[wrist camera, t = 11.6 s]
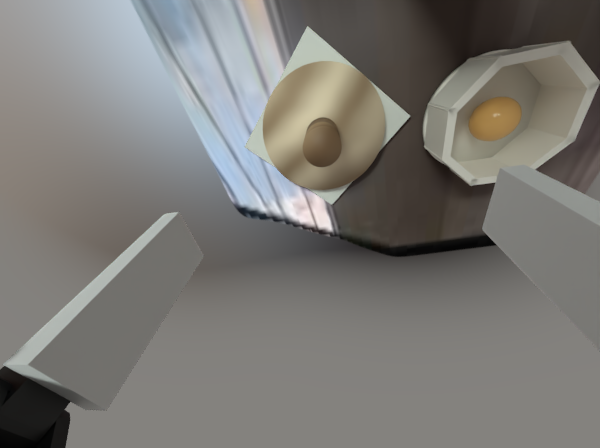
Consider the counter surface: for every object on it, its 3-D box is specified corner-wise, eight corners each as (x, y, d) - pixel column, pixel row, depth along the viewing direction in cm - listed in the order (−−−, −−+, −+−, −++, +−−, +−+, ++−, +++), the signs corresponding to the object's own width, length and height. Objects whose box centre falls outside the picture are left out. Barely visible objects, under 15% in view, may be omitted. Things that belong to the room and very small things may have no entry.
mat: (245, 146, 32) (244, 147, 31) (307, 26, 24) (307, 26, 24) (332, 203, 35) (332, 204, 35) (409, 115, 28) (410, 116, 27)
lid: (244, 147, 31) (226, 164, 25) (307, 26, 24) (302, 12, 18) (332, 205, 35) (333, 231, 29) (410, 116, 28) (433, 129, 22)
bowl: (400, 129, 29) (416, 141, 24) (497, 19, 23) (546, 4, 18) (464, 183, 32) (490, 204, 27) (565, 99, 26) (623, 106, 21)
